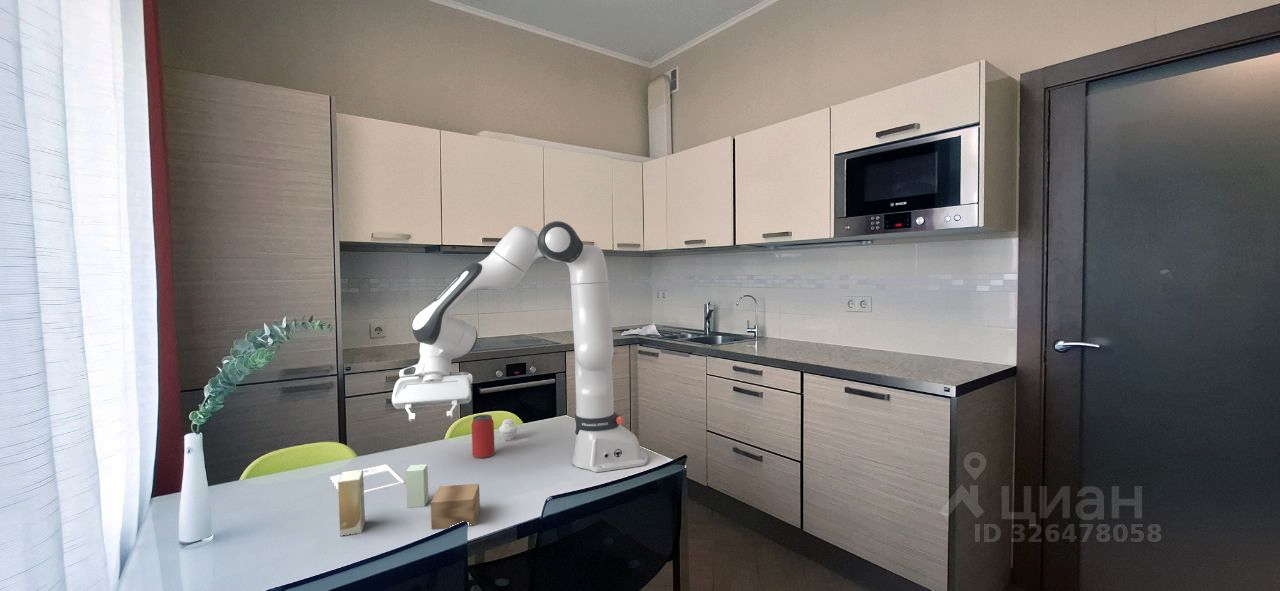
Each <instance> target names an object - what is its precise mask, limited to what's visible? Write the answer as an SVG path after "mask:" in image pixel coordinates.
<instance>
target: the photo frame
mask: <svg viewBox="0 0 1280 591" xmlns="http://www.w3.org/2000/svg"><path fill="white" fill-rule="evenodd" d="M362 470H363V478H366V477H365V476H367V477H370V475H371V476H375V475H378V474H379V473H380V474H383V473H388V472H389V473H390V474H391V475H392V476H393V477H394V478H395V479H396V480H397V481H398V482H395V483H390V484H386V485H382V486H378V487H375V488H369V489H366V490H364V493H366V494H368V493H367V492H370V493H372V492H371V491H374V492H377V491H376V490H378V491H381V490H384V488H385V489H389V488H393V487H397V486H400V484H401V485H404V484H405V481H404V480H403V479H402V478H401V477H400V475H398V474H397V473H396V472H395V471H394V470H393V469H392V468H391V467H390V466H389V465H388V464H382V465H377V466H373V467H368V468H363V469H362ZM387 471H388V472H387ZM374 474H375V475H374ZM340 475H341V474H338V475H333V476H330V477H329V479H330V481H331V480H332V481H331V482H332V484H333V483H334V484H333V485H334V487H335V486H336V487H335V489H336V490H337V489H338V480H339V478H340ZM388 487H389V488H388ZM380 489H381V490H380Z"/></svg>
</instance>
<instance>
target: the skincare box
mask: <svg viewBox="0 0 1280 591" xmlns="http://www.w3.org/2000/svg"><path fill="white" fill-rule="evenodd" d="M339 475H340V478H339V480H338V490H337V491H338V518H339V536H340V537H344V536H343V535H345V536H350V535H349V534H351V535H356V534H355V533H357V534H361V533H360V532H362V533H363V531H364V527H365V524H366V515H365V514H366V510H365V494H364V491H365V484H364V477H363V469H355V470H348V471H342V472H341V474H339Z"/></svg>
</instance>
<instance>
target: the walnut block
mask: <svg viewBox="0 0 1280 591" xmlns="http://www.w3.org/2000/svg"><path fill="white" fill-rule="evenodd" d="M480 497H481V496H480V483H469V484H467V483H466V484H457V485H456V484H454V485H441V486H439V487H438V489H437V490H436V492H435V494H434V496H433V498H432V499H431V501H430V521H431V530H440V529H441V530H442V529H449V528H448V527H450V526H452V525H455V524H457V523H460V522H462V521H467V522H469V526H468V527H473V526H472V525H474V526H475V524H476V520H477V518H478V515H479V512H480V509H481V503H480V502H481V501H480V500H481V499H480ZM474 523H475V524H474ZM470 524H471V526H470Z"/></svg>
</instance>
